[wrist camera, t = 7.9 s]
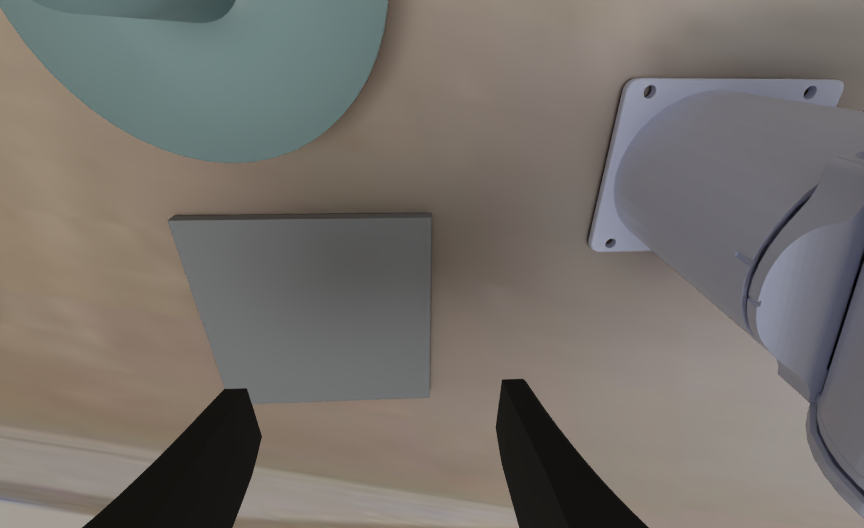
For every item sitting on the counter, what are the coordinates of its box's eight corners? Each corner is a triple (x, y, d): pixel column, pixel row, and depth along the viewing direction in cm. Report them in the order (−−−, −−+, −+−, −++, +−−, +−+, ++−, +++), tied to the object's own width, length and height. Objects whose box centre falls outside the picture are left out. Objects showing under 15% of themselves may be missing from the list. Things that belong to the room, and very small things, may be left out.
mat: (430, 212, 19) (431, 217, 19) (428, 390, 25) (429, 397, 25) (173, 215, 19) (167, 220, 18) (234, 396, 24) (230, 404, 24)
